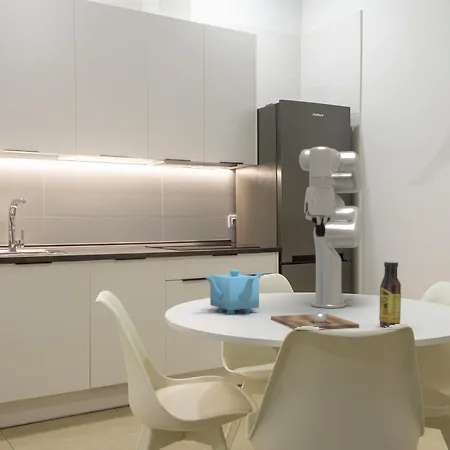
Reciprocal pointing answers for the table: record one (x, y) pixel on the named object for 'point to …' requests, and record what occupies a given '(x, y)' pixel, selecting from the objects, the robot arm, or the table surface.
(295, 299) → the table surface
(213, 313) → the table surface
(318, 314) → the steel ball
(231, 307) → the teakettle
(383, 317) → the sauce bottle
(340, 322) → the walnut board
